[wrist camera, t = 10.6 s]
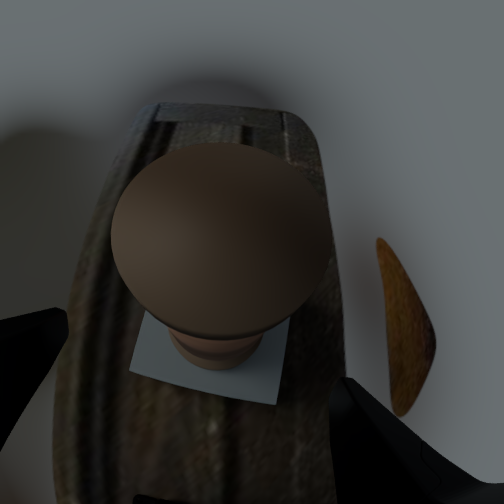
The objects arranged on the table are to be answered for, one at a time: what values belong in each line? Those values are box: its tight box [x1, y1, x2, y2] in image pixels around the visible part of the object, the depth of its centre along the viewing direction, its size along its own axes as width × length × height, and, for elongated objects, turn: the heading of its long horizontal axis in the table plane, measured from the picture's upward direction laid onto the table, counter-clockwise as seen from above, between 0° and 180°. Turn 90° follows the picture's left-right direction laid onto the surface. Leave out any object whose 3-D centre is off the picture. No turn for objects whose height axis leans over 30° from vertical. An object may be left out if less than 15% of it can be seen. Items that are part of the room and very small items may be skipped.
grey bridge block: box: [129, 311, 290, 405], centre depth 20 cm, size 9×9×4 cm
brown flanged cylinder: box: [111, 142, 332, 370], centre depth 13 cm, size 6×6×12 cm
